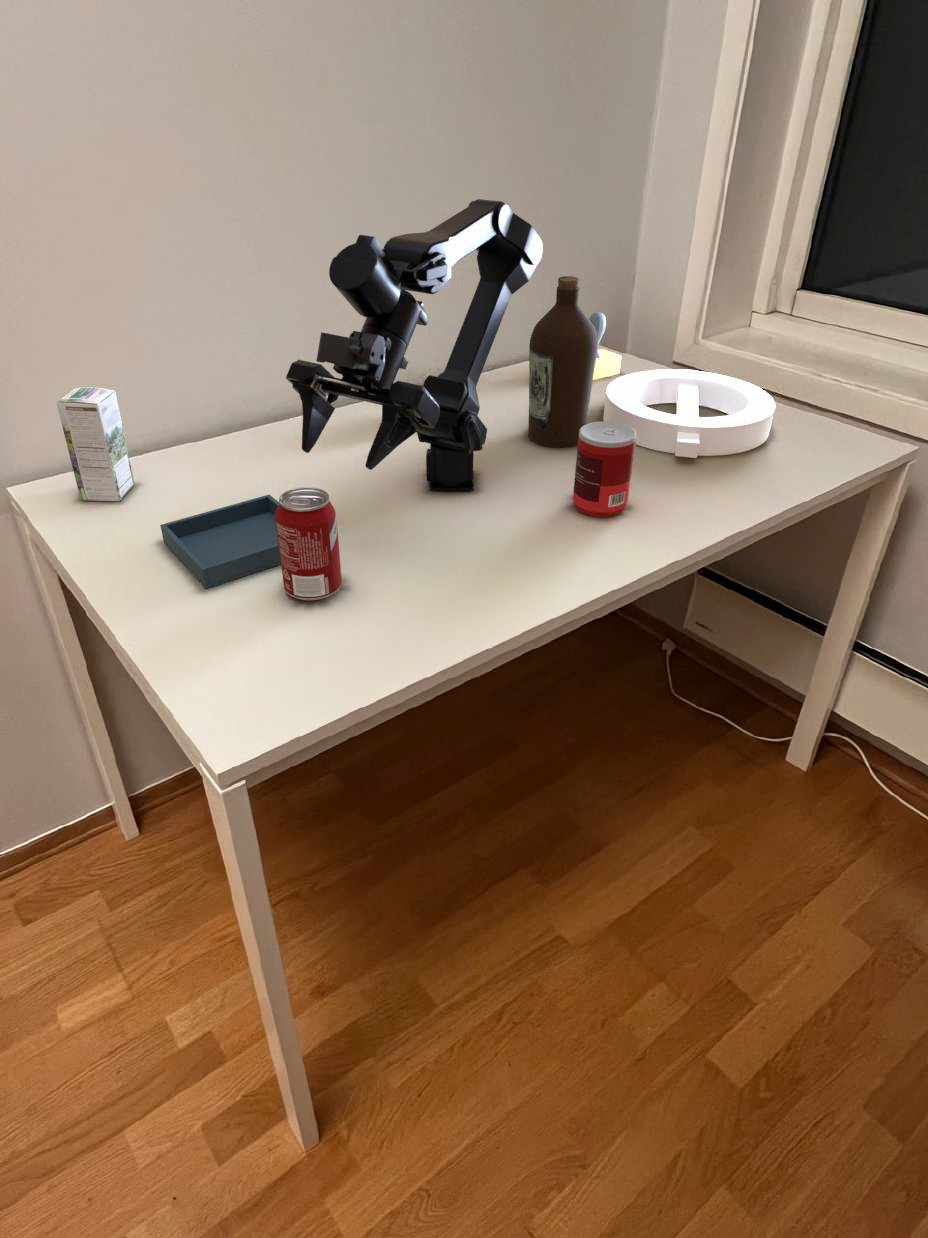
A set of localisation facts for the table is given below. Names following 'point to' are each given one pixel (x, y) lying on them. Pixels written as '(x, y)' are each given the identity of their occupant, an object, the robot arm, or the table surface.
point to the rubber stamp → (604, 351)
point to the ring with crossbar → (690, 412)
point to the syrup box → (96, 443)
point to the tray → (226, 541)
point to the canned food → (603, 468)
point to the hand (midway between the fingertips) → (336, 459)
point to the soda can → (308, 543)
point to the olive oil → (561, 370)
